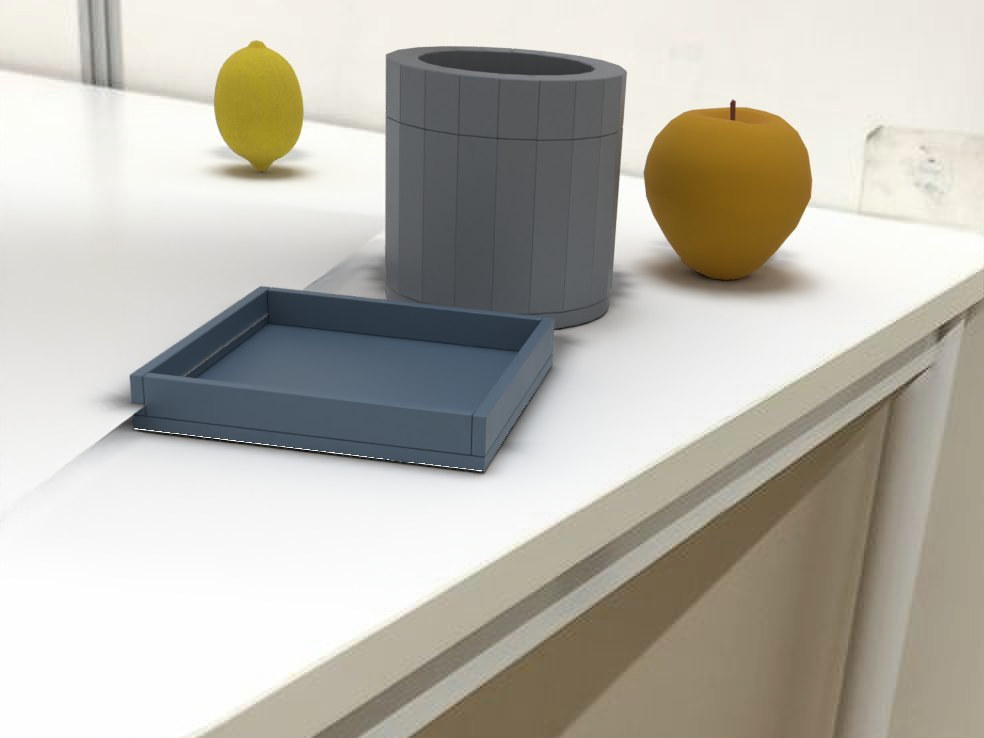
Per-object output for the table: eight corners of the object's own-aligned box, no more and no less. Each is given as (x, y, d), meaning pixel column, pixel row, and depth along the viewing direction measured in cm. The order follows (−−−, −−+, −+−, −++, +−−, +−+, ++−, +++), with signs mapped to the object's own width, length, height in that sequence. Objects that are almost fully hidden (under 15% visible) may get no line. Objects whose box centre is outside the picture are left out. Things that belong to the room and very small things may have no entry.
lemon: (199, 168, 96) (192, 36, 93) (265, 159, 100) (261, 33, 97) (257, 183, 93) (252, 48, 90) (322, 173, 97) (320, 43, 94)
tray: (133, 430, 54) (128, 374, 53) (261, 332, 66) (259, 285, 65) (484, 473, 53) (486, 416, 52) (552, 365, 64) (555, 317, 63)
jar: (356, 316, 69) (355, 64, 64) (419, 261, 78) (422, 40, 74) (589, 341, 68) (606, 87, 63) (623, 283, 77) (640, 59, 72)
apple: (674, 243, 86) (688, 80, 82) (822, 269, 83) (845, 100, 79) (609, 274, 79) (621, 97, 75) (769, 304, 76) (791, 120, 72)
